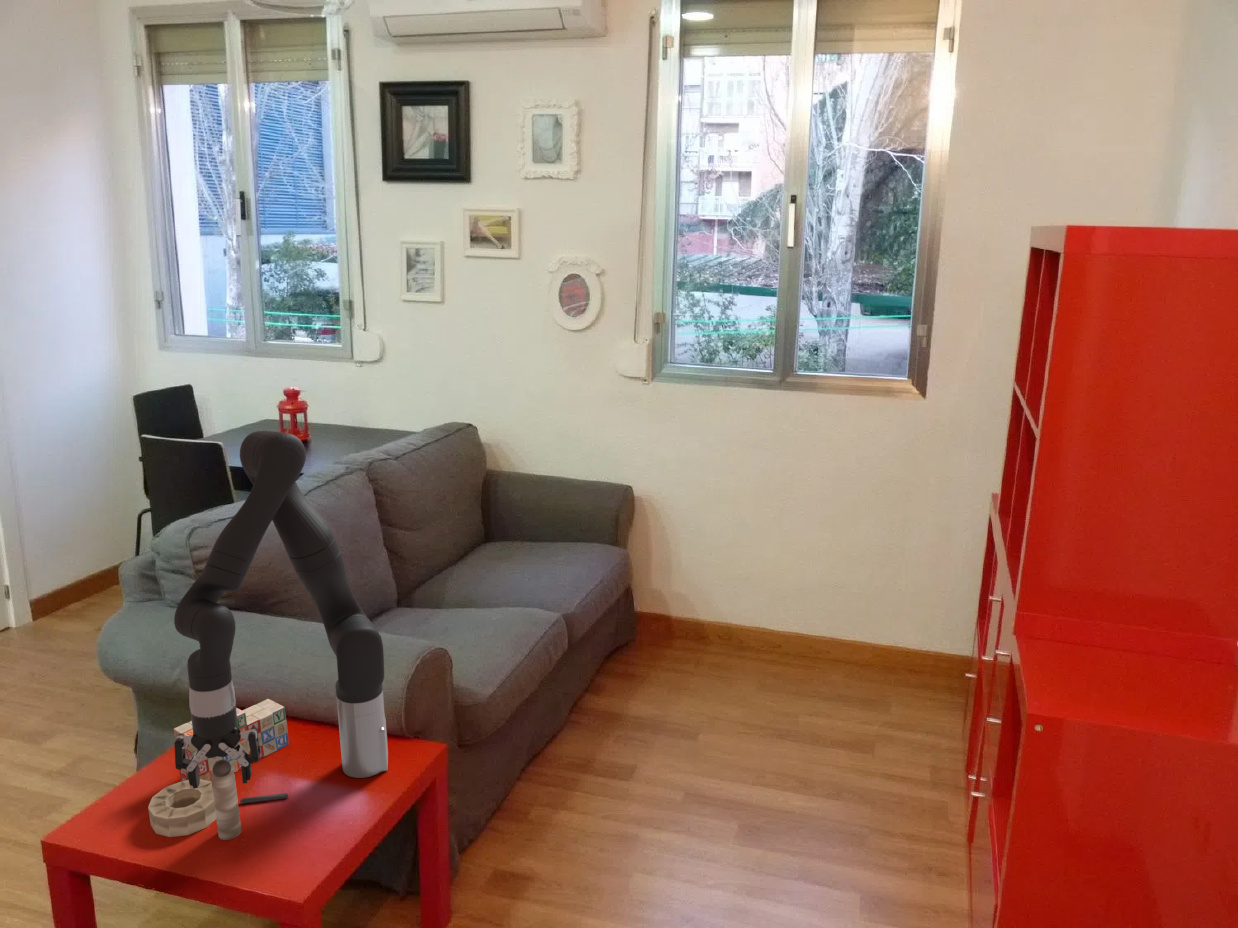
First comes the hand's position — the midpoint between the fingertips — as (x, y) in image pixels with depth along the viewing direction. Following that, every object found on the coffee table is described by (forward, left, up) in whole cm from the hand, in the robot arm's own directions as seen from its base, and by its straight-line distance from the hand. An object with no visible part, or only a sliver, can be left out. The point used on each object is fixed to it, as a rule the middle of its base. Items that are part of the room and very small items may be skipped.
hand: (221, 783), depth 173 cm
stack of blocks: (+2, -24, -11) cm, 26 cm away
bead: (+9, -7, -11) cm, 15 cm away
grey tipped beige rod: (0, 0, -11) cm, 11 cm away
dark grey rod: (-5, -9, -11) cm, 15 cm away
